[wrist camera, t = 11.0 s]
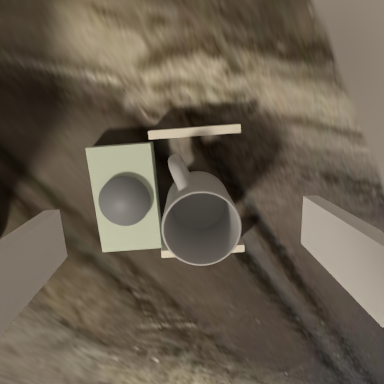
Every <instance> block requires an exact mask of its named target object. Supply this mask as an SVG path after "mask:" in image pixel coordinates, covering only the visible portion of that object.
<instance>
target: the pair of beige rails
mask: <svg viewBox="0 0 384 384" xmlns="http://www.w3.org/2000/svg"><path fill="white" fill-rule="evenodd" d="M231 133H241V124H225V125H212V126H199V127H186V128H172V129H159V130H150V131H148V137H149V140H152V139H165V138H178V137H191V136H204V135H218V134H231ZM85 149H86V155H87V161H88V167H89V173H90V179H91V185H92V191H93V197H94V203H95V209H96V215H97V221H98V227H99V233H100V239H101V245H102V251H103V252H113V251H126V250H139V249H152V248H162V249H161V255H162V258H169V257H175V256H174V255H173V254H172V253H171V252H170V251H169V250H168V248H167V247H166V245H165V243H164V240H163V237H162V231H161V223H162V221H161V211H160V202H159V192H158V183H157V174H156V164H155V155H154V145H153V142H141V143H127V144H114V145H101V146H92V147H88V148H85ZM234 252H244V243H243V241H242V239H241V237H240V239H239V242H238V244H237V246H236V247H235V249H234V250H233V251H232V252H231V253H234Z"/></svg>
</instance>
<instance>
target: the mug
mask: <svg viewBox="0 0 384 384" xmlns="http://www.w3.org/2000/svg"><path fill="white" fill-rule="evenodd" d="M168 165H169V169H170V172H171V174H172V177H173V179H174V181H175V182H174V183H173V184H172V186H171V187H170V190H169V192H168V195H167V201H166V205H165V209H164V213H163V217H162V223H161V231H162V237H163V240H164V243H165V245H166V247H167V248H168V250H169V251H170V252H171V253H172V254H173V255H174V256H175V257H176V258H178V259H179V260H181V261H183V262H185V263H188V264H191V265H199V266H203V265H210V264H214V263H217V262H219V261H221V260H223V259H224V258H226V257H227V256H228V255H230V253H231V252H232V251H233V250H234V249H235V247H236V246H237V244H238V242H239V239H240V236H241V231H242V223H241V218H240V215H239V212H238V210H237V208H236V206H235V204H234V203H233V201H232V199H231V197H230V196H229V194H228V192H227V190H226V188H225V186H224V185H223V183H222V182H221V181H220V180H219V179H218V178H217V177H215V176H214V175H212V174H210V173H207V172H203V171H193V172H189V171H188V169H187V167H186V164H185V162H184V160H183V158H182V157H181V155H179V154H173V155H172V156H170V157H169V159H168Z"/></svg>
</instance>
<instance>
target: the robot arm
mask: <svg viewBox="0 0 384 384" xmlns="http://www.w3.org/2000/svg"><path fill="white" fill-rule="evenodd" d="M301 244H302V245H303V246H304V247H305V248H306V249H307V250H308V251H309V252H310V253H311V254H312V255H313V256H314V257H315V258H316V259H317V260H318V261H319V262H320V263H321V264H322V265H323V266H324V267H325V269H326V270H327V271H328V272H329V273H330V274H331V275H332V276H333V277H334V278H335V279H336V280H337V281H338V282H339V283H340V284H341V285H342V286H343V287H344V288H345V289H346V290H347V291H348V292H349V293H350V294H351V295H352V296H353V298H354V299H355V300H356V301H357V302H358V303H359V304H360V305H361V306H362V307H363V308H364V309H365V310H366V311H367V312H368V313H369V314H370V315H371V316H372V317H373V318H374V319H375V320H376V321H377V322H378V323H379V324H380V325H381V327H384V232H383V231H381V230H379V229H377V228H375V227H373V226H372V225H370V224H368V223H366V222H364V221H363V220H361V219H359V218H357V217H355V216H354V215H352V214H350V213H348V212H346V211H345V210H343V209H341V208H339V207H337V206H336V205H334V204H332V203H330V202H328V201H327V200H325V199H323V198H321V197H319V196H318V195H314V196H303V213H302V231H301ZM66 258H67V251H66V246H65V240H64V234H63V229H62V223H61V217H60V211H59V210H44V211H43V212H41V213H40V214H38V215H37V216H35V217H34V218H32V219H31V220H29V221H28V222H26V223H25V224H23V225H22V226H20V227H19V228H17V229H16V230H14V231H12V232H11V233H9V234H8V235H6V236H5V237H3V238H2V239H0V336H1V335H2V334H3V333H4V331H5V330H6V329H7V328H8V327H9V326H10V324H11V323H12V322H13V321H14V320H15V318H16V317H17V316H18V315H19V314H20V312H21V311H22V310H23V309H24V308H25V307H26V305H27V304H28V303H29V302H30V301H31V299H32V298H33V297H34V296H35V295H36V293H37V292H38V291H39V290H40V289H41V288H42V286H43V285H44V284H45V283H46V282H47V280H48V279H49V278H50V277H51V276H52V274H53V273H54V272H55V271H56V270H57V269H58V267H59V266H60V265H61V264H62V263H63V261H64V260H65V259H66Z"/></svg>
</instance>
